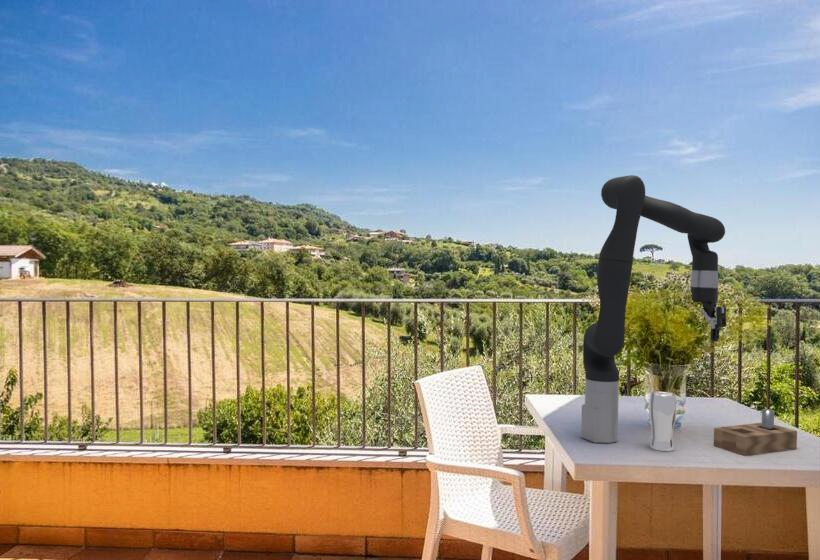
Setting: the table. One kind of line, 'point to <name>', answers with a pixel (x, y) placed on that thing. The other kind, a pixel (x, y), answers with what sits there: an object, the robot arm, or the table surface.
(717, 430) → the hole block
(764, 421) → the peg
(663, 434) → the beer glass
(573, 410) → the table surface
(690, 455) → the table surface
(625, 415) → the table surface
